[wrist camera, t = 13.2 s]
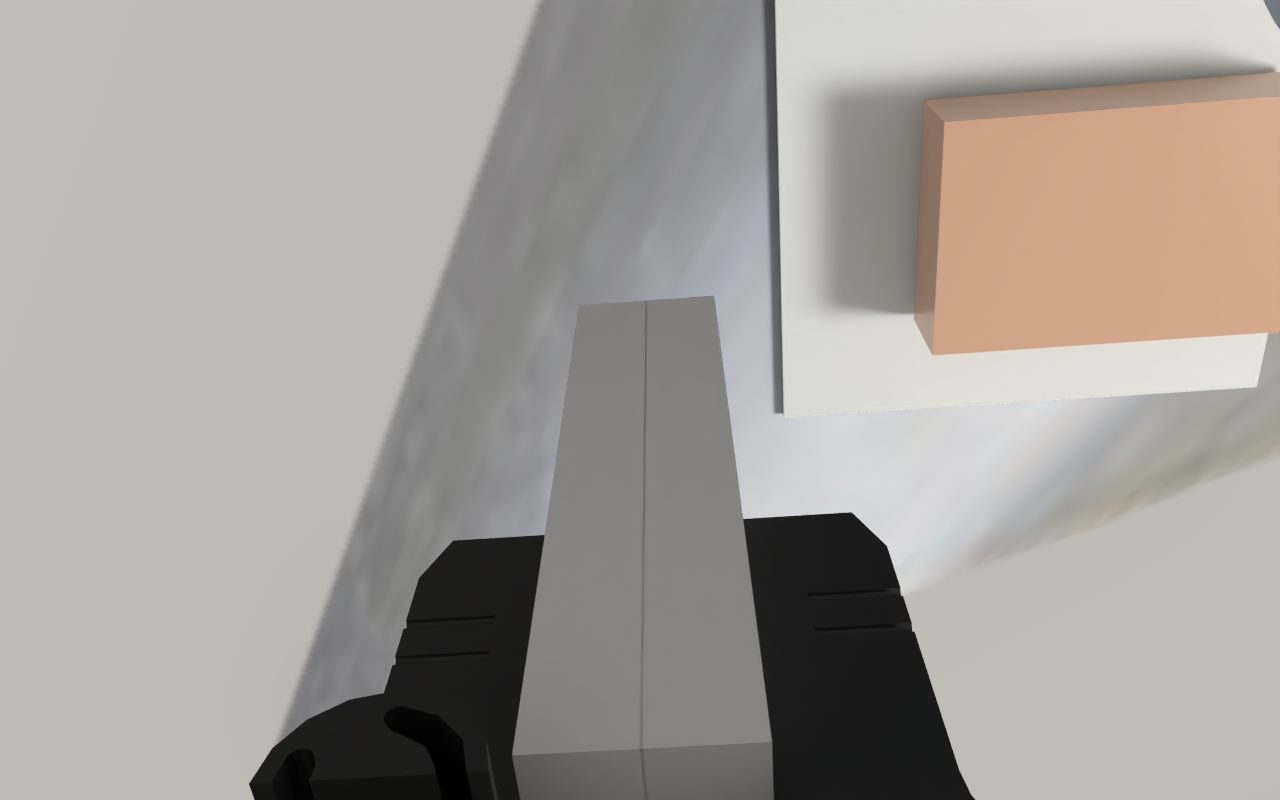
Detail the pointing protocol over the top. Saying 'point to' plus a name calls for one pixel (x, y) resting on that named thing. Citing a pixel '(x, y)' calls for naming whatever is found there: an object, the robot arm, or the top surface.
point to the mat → (890, 177)
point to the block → (1100, 215)
